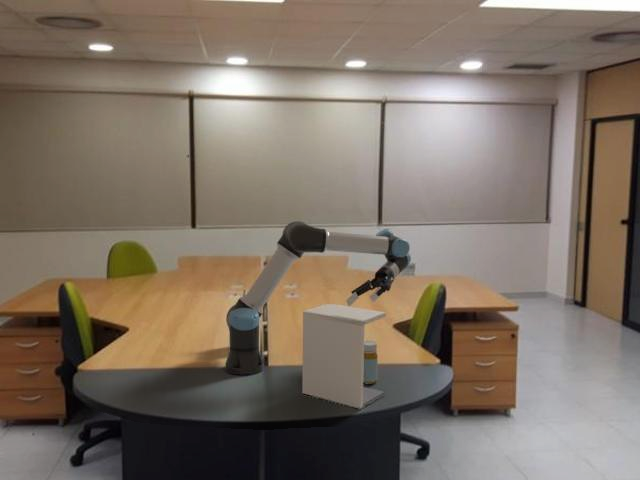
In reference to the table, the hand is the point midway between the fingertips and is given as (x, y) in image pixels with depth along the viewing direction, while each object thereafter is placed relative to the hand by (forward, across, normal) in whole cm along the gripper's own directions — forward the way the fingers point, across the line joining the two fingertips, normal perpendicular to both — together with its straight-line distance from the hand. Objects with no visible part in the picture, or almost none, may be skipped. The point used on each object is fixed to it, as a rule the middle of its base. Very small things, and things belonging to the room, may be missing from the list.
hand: (359, 301), depth 246 cm
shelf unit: (+38, -11, -16) cm, 43 cm away
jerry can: (+22, +56, -2) cm, 60 cm away
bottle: (+23, -7, -22) cm, 33 cm away
